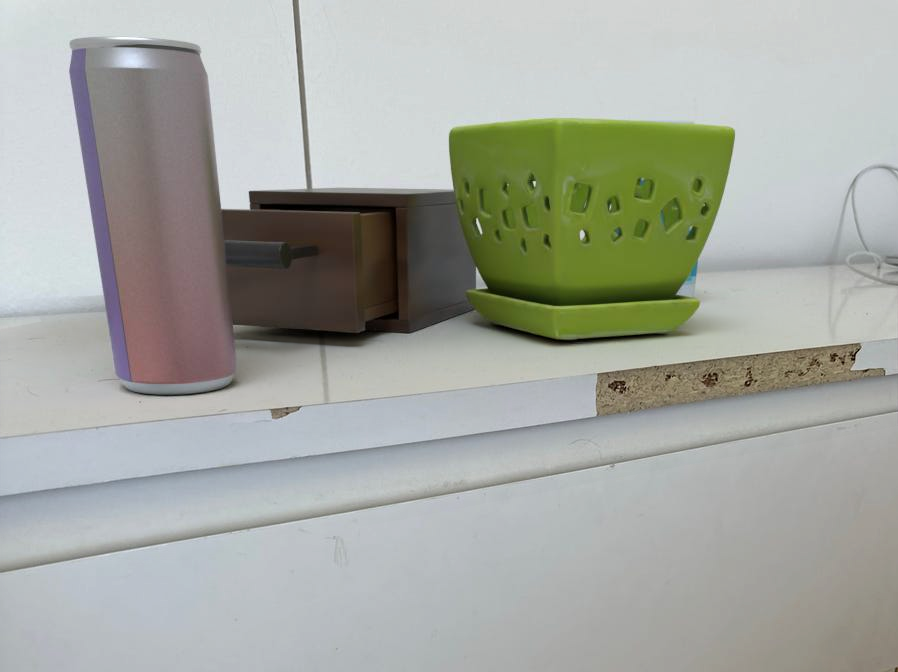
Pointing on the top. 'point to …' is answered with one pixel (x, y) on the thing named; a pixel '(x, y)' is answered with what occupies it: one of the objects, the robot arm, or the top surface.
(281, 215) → the drawer
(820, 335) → the top surface
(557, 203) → the flower pot
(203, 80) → the beverage can
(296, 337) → the top surface
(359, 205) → the cabinet
